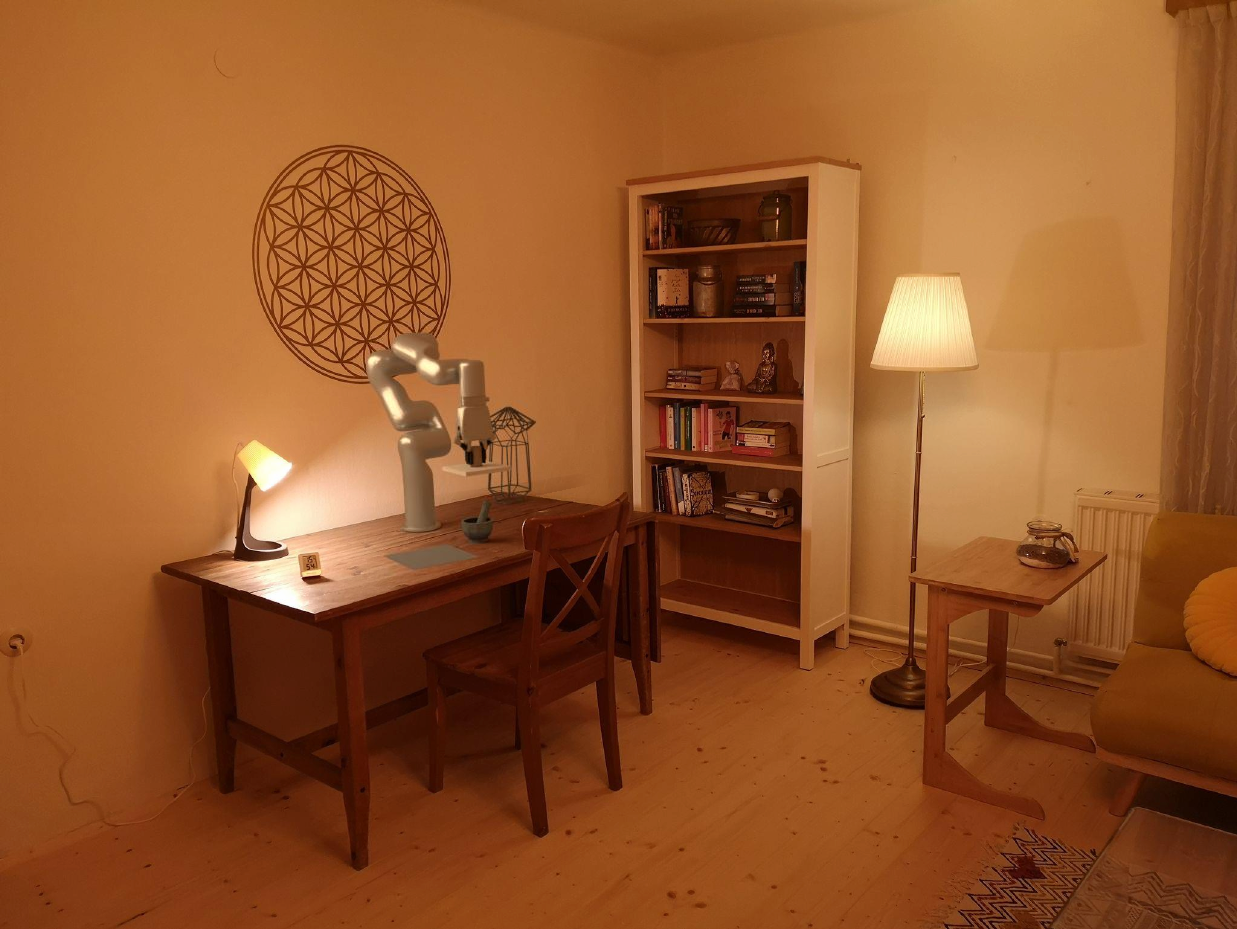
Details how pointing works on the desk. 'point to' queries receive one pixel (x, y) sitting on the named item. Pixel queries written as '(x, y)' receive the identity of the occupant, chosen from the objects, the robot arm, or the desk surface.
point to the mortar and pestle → (478, 525)
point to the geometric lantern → (532, 422)
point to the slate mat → (430, 556)
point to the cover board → (477, 469)
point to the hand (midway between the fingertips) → (476, 462)
